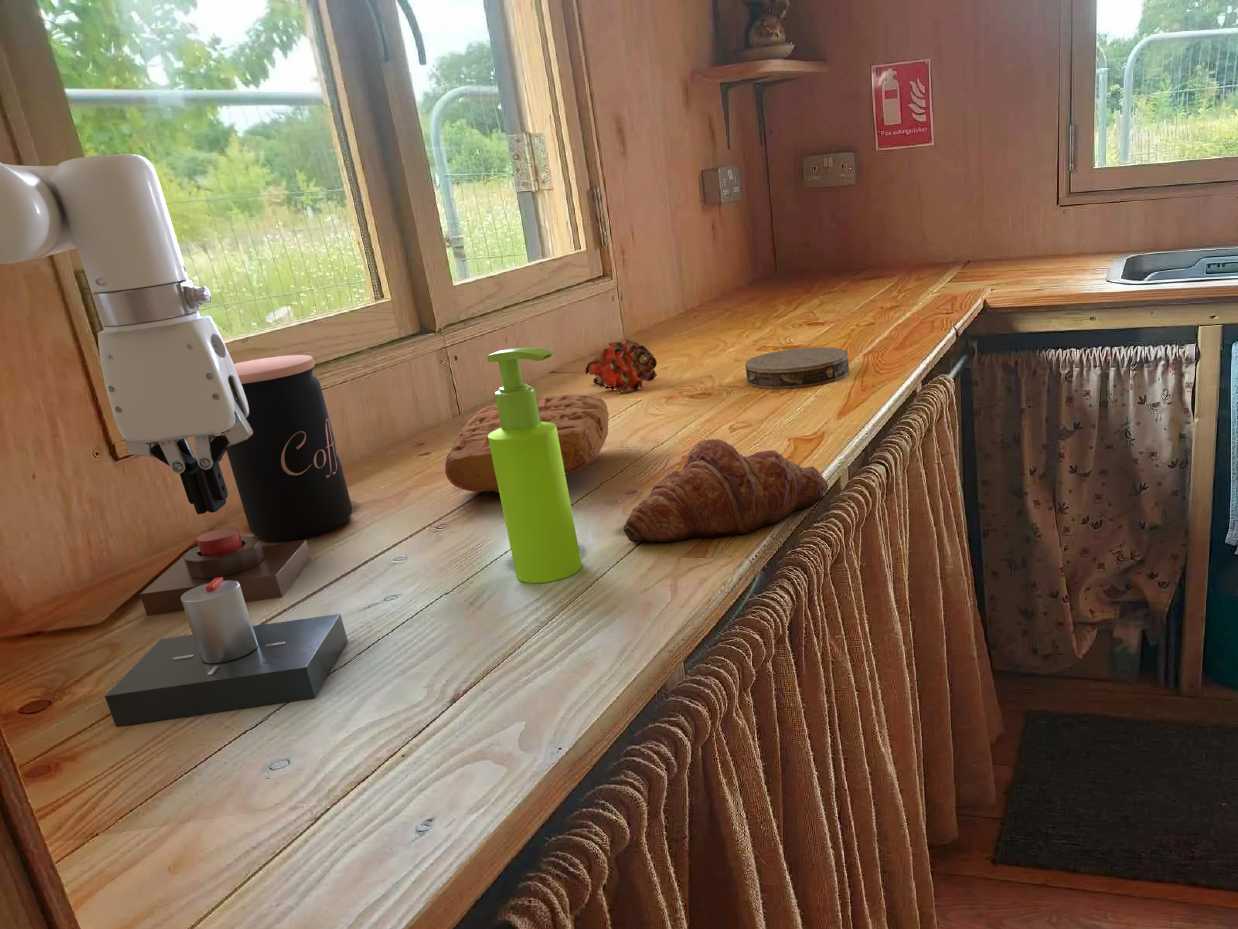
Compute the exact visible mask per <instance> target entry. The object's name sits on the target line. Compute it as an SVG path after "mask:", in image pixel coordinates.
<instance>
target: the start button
mask: <svg viewBox="0 0 1238 929" xmlns="http://www.w3.org/2000/svg"><path fill="white" fill-rule="evenodd" d="M240 536H241V535H240V530H239V529H238V528H235V527H224V528H218V529H213V530H210V531H208V532H204V533H202V534H200V535H199V536H197V537H196V542H197V546H199V549H200V552H201V555H202V556H214V555H221V554H224V553H228V552H232V551H234V550H237V549H239V548H241V547H243V544H242V541H241V538H240Z"/></svg>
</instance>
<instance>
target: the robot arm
mask: <svg viewBox="0 0 1238 929" xmlns="http://www.w3.org/2000/svg"><path fill="white" fill-rule="evenodd" d="M172 223H173V222H172V220H171V216H170V213H169V210H168V206H167V203H166V200H165V197H164V194H163V191H162V187H161V183H160V180H159V178H158V175H157V171H156V169H155V167H154V166H153V164H152V163H151V162H150V160H148V159H147V158H146V157H144V156H142V155H140V154H135V153H113V154H112V153H111V154H101V155H92V156H83V157H76V158H71V159H67V160H64V161H61V162H60V163H58V165H19V164H7V163H2V162H1V161H0V265H11V264H18V263H21V262H29V261H34V260H38V259H41V258H46V257H49V256H52V255H56V254H60V253H64V252H67V251H72V250H75V249H76V251H77V254H78V257H79V259H80V262H81V266H82V268H83V271H84V274H85V277H86V280H87V283H88V286H89V289H90V292H91V296H92V298H93V301H94V305H95V308H96V310H97V313H98V316H99V317H98V318H99V319H100V323H101V325H102V328H103V329H102V330H101V331H98V332H97V342H98V353H99V361H100V367H101V372H102V378H103V382H104V386H105V390H106V394H107V398H108V402H109V405H110V408H111V412H112V416H113V418H114V421H115V424H116V427H117V429H118V431H119V433H120V435H121V437H122V438H123V439H124V440H125V448H126V452H127V453H128V454H129V455H131V456H138V457H149V458H150V457H151V458H153V457H154V458H156V459H157V460H159V461H161V462H162V463H164V464H165V465H167V466H168V467H170V469H171V470H172V472H174V473H176V474H179V476H180V480H181V483H182V486H183V488H184V492H185V495H186V498H187V501H188V503H189V504H190V505H193V506H194V510H195V512H196V514H197V515H203V514H206V513H207V512H208V513H216V512H218V511H219V510H221V509H222V508H223V507H224V506H225V505H226V503H227V498H228V496H229V494H228V493H229V492H228V488H227V484H226V482H225V479H224V475H223V472H222V469H221V466H220V463H219V462H221V461H222V459H223V456H224V455H225V453H227V451H226V450H227V449H228V447H229V446H232V445H234V444H237V443H239V442H242V441H244V440H246V439H248V438H249V437H251V436H252V434H253V430H252V428H251V427H250V425H249V423H248V421H247V420H246V417H247V416H248V415H249V407H248V403H247V399H246V396H245V393H244V390H243V387H242V385H241V382H240V379H239V377H238V374H237V372H236V369H235V367H234V364H235V363H234V362H233V359H232V357H231V354H230V353H229V350H228V348H227V346H226V344H225V342H224V339H223V337H222V335H221V333H220V331H219V329H218V327H217V326H216V324H215V322H214V320H213V318H212V316H211V315H200V312H199V311H201V306H203V304H207V303H211V301H212V297H211V292H210V290H209V288H208V287H207V286H202V287H198V286H194V284H193V281H192V280H191V279H189V276H188V273H187V269H186V266H185V262H184V259H183V256H182V253H181V249H180V247H179V243H178V240H177V237H176V233H175V229H174V226H173V224H172ZM227 430H229V431H227ZM224 431H227V432H224ZM221 432H224V433H221ZM187 438H193V442H194V448H195V452H194V451H193V449H192V448H191V445H190V443H189V442H188V439H187ZM194 453H195V454H196V455H195V454H194Z"/></svg>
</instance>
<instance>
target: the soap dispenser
mask: <svg viewBox="0 0 1238 929" xmlns="http://www.w3.org/2000/svg"><path fill="white" fill-rule="evenodd" d="M553 355H554V352H553V350H552V351H551V350H548V349H544V348H539V347H527V346H526V347H514V348H508V349H503V350H498V351H495V352H493V353H490V354H487V355H486V358H487V362H488V363H492V362H497V363H498V366H499V372H500V377H501V383H502V386H501V387H499V389H498V390H497V391H495V392H494V398H495V404H497V409H498V414H499V419H500V424H501V428H499V429H497V430H495V431H493V432H491V433H490V434H489V435H488V440H489V445H490V450H491V455H492V460H493V464H494V469H495V474H496V479H497V484H498V489H499V492H498V493H499V497H500V503H501V507H502V511H503V517H504V522H505V528H506V532H507V537H508V541H509V542H508V543H509V546H510V551H511V556H512V561H513V567H514V571H515V575H516V578H517V580H519V581H521V582H522V583H523V582H524V583H529V584H542V583H550V582H555V581H560V580H563V579H565V578H569V577H571V576H573V575H574V574H576V573H578V572H579V571H580V570H581V568H582V559H581V554H580V548H579V543H578V537H577V532H576V526H575V521H574V520H575V519H574V515H573V509H572V504H571V498H570V493H569V488H568V483H567V476H566V474H565V471H564V465H563V460H562V454H561V449H560V443H559V438H558V432H557V427H556V425H555V424H554V423H550V422H541V421H540V416H539V410H538V405H537V400H536V398H537V394H536V389H535V387H534V386H532V385H528V383H525V382H523V381H524V380H523V375H522V370H521V364H520V360H528V361H529V360H530V361H535V362H542V361H544V360H547V359H549V358H551V357H552V356H553Z"/></svg>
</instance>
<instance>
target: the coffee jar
mask: <svg viewBox="0 0 1238 929" xmlns="http://www.w3.org/2000/svg"><path fill="white" fill-rule="evenodd" d="M233 364H234V367H235V369H236V372H237V374H238V377H239V379H240V382H241V385H242V387H243V390H244V393H245V396H246V399H247V403H248V407H249V415H248V416H247V417H246V420H247V421H248V423H249V425H250V427H251V428H252V430H253V434H252V436H251V437H249V438H248V439H246V440H244V441H242V442H239V443H237V444H234V445H232V446H229V447H228V449H227V450H226V454H227V457H228V462H229V465H230V467H231V471H232V474H233V478H234V481H235V484H236V488H237V491H238V495H239V499H240V501H241V505H242V508H243V512H244V515H245V518H246V521H247V525H248V528H249V531H250V533H251V534H252V535H254V537H256V538H257V539H259V540H260V542H261V541H262V542H263V543H269V544H281V543H289V542H296V541H303V540H309V539H313V538H318V537H321V536H324V535H327V534H329V533H332V532H334V531H336V530H339V529H342V527H344V526H346V525H347V524H348V522H349V521H350V517H351V515H352V513H353V505H352V501H351V496H350V494H349V489H348V485H347V482H346V479H345V478H346V477H345V474H344V471H343V467H342V463H341V459H340V454H339V451H338V448H337V447H338V446H337V444H336V439H335V436H334V432H333V427H332V425H331V421H330V416H329V413H328V408H327V404H326V400H325V398H324V393H323V388H322V384H321V383H320V381H319V378H317V377H316V376H315V375H314V374H313V370H314V367H315V366H316V364H315V360H314V357H313V356H312V355H307V354H291V355H290V354H289V355H278V356H271V357H263V358H257V359H252V360H251V359H250V360H245V361H241V362H236V363H233ZM227 431H229V430H227ZM227 431H224V432H227ZM224 432H221V433H224ZM221 433H220V434H221Z"/></svg>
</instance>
